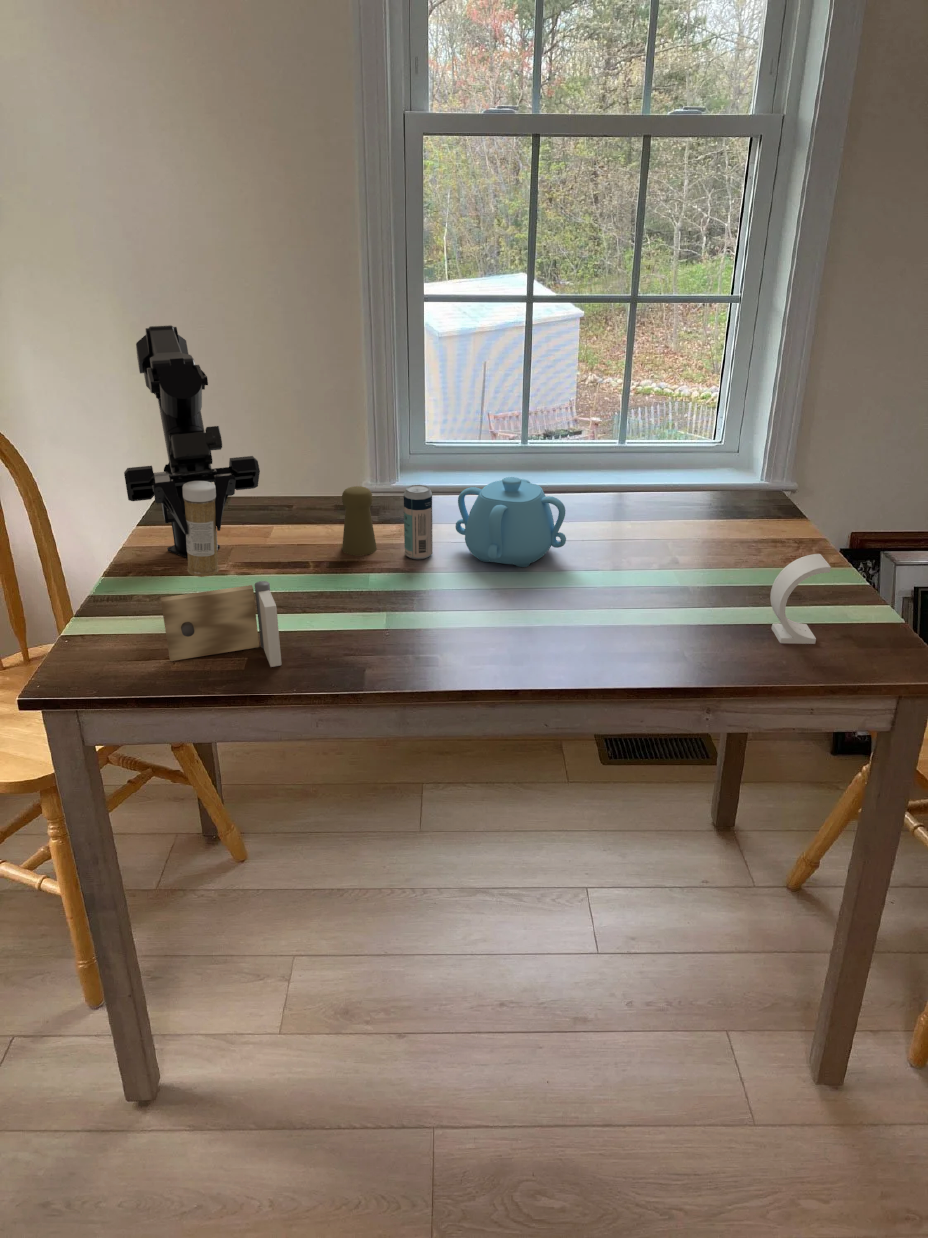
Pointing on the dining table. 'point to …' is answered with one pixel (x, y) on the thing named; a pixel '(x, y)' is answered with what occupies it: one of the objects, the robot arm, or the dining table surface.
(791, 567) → the headphone stand
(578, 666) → the dining table surface
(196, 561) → the sprinkles bottle
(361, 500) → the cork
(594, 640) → the dining table surface
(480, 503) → the decorative pot
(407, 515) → the beer can
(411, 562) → the dining table surface
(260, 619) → the door frame
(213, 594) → the door
